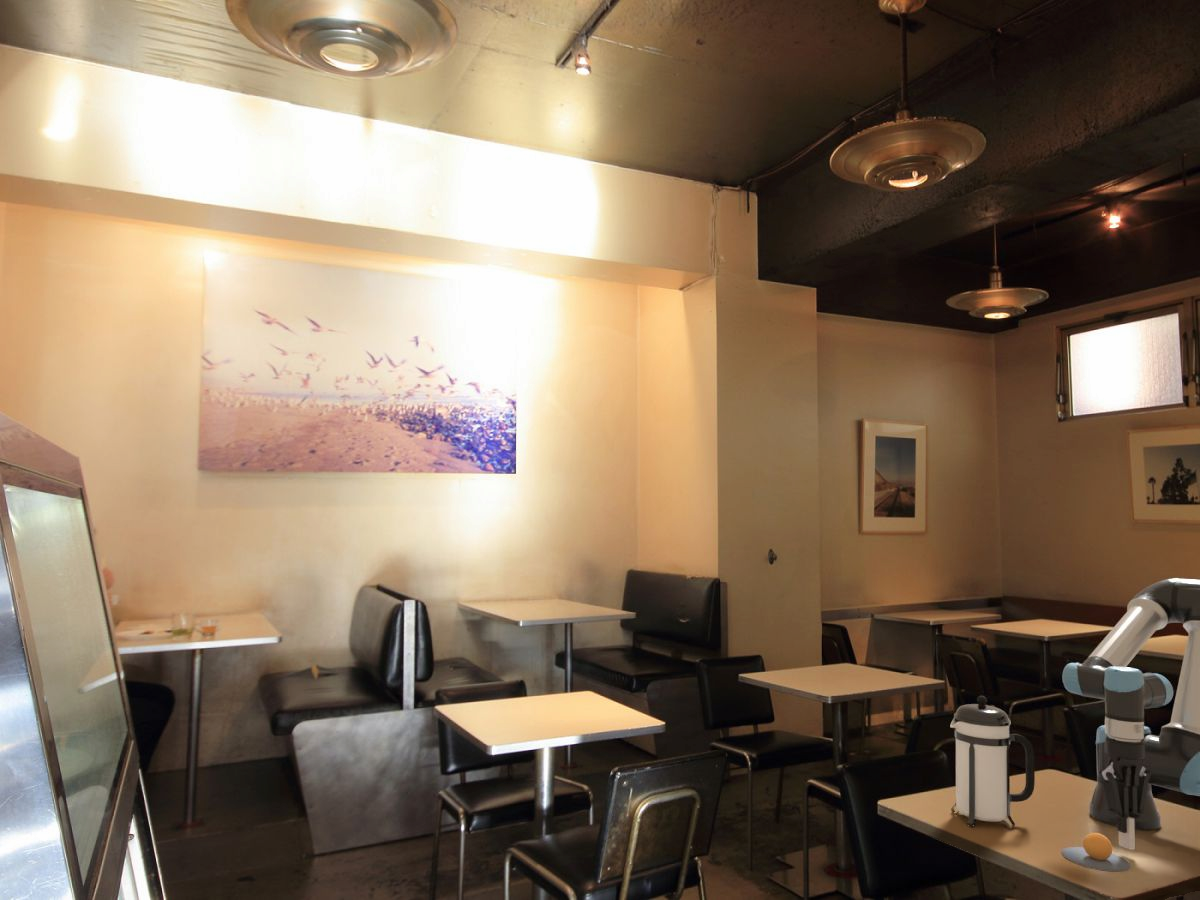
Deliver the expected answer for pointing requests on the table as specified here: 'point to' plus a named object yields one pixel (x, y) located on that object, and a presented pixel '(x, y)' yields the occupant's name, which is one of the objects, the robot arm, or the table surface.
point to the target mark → (1084, 859)
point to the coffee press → (987, 763)
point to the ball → (1097, 846)
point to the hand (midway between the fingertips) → (1126, 846)
